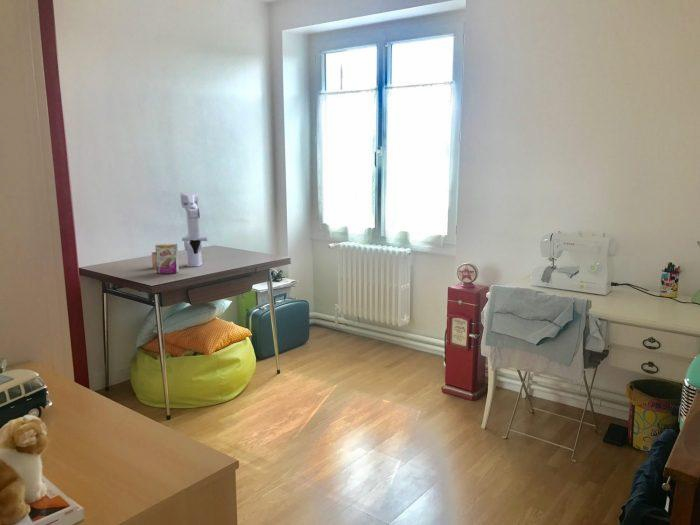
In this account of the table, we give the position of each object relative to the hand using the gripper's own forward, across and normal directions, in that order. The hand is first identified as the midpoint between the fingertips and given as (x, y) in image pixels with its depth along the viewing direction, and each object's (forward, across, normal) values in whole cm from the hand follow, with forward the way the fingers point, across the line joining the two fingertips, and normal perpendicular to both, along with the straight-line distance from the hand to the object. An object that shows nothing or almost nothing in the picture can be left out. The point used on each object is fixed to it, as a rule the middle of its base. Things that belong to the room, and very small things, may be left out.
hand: (195, 253), depth 319 cm
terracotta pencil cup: (+10, -26, +9) cm, 29 cm away
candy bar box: (+11, -15, -5) cm, 19 cm away
